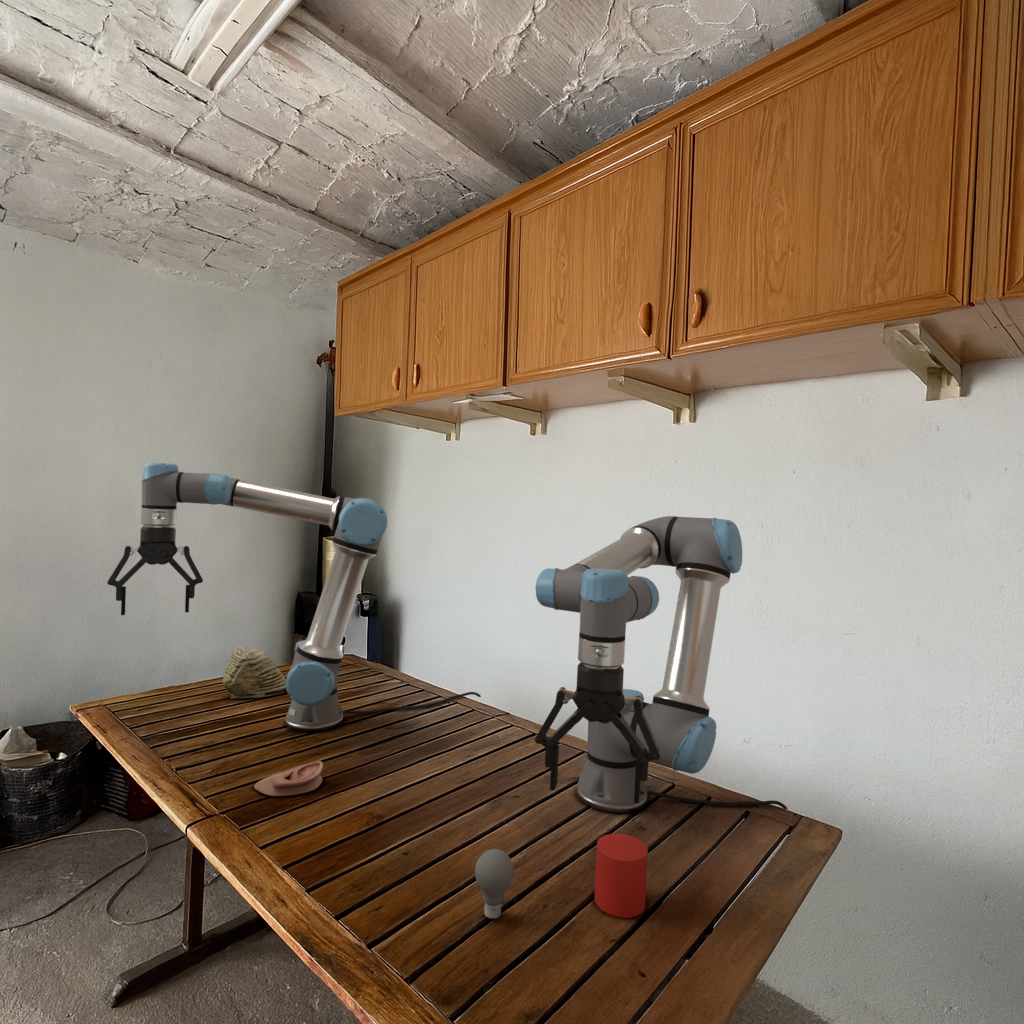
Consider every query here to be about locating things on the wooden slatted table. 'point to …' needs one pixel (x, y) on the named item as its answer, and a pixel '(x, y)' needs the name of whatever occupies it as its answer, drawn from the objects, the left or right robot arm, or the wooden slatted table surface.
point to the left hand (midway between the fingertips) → (155, 613)
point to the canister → (621, 875)
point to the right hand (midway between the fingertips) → (594, 793)
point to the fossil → (252, 674)
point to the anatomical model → (292, 781)
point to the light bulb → (494, 879)
